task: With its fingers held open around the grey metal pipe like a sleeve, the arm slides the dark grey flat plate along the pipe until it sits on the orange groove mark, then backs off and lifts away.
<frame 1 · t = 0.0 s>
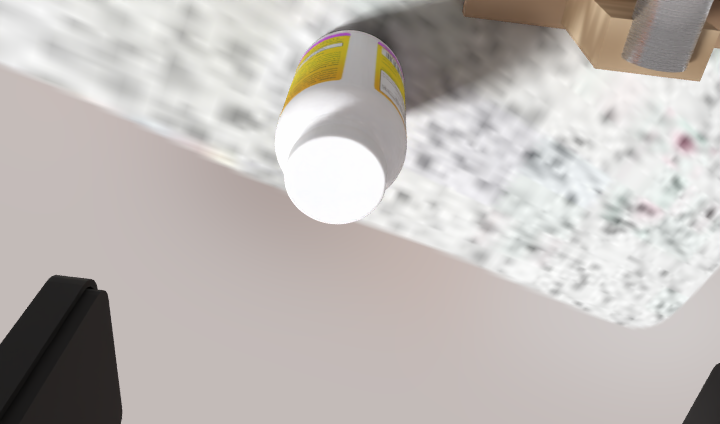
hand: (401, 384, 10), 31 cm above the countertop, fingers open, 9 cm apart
supplement bottle: (351, 79, 41), on the countertop
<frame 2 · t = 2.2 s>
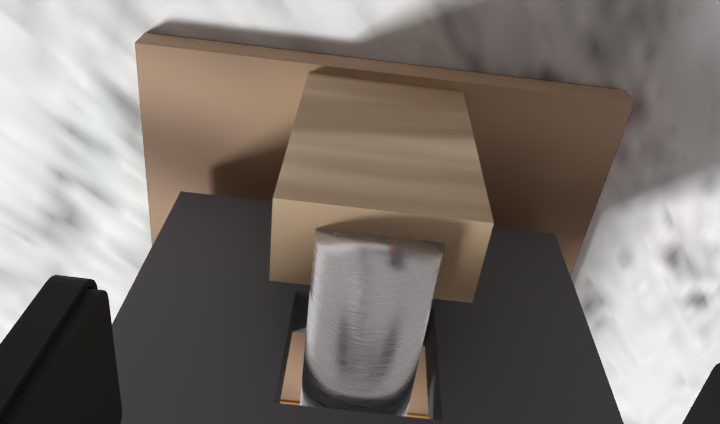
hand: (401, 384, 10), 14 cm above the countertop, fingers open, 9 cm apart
stand: (353, 309, 28), on the countertop
dark grey flat plate: (358, 370, 17), point 8 cm above the countertop, slide at 0.0 cm
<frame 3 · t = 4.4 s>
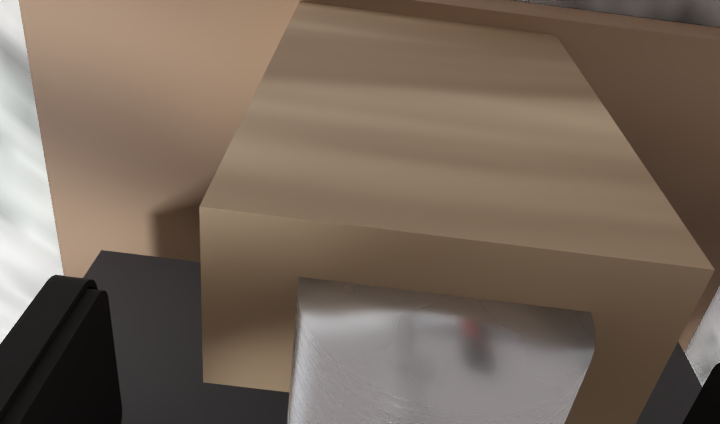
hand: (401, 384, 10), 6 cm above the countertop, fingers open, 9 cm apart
stand: (364, 370, 19), on the countertop
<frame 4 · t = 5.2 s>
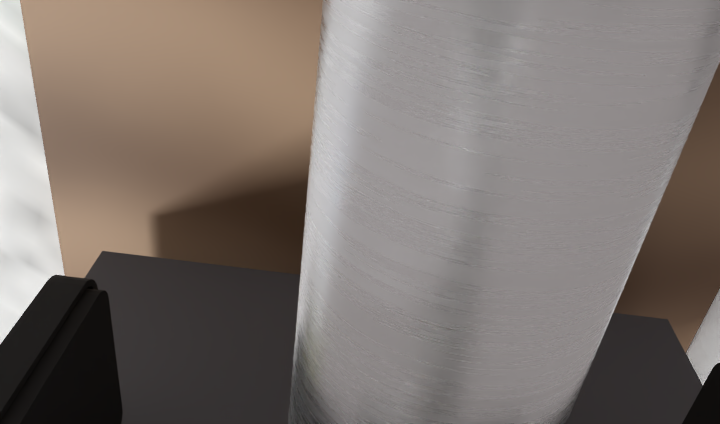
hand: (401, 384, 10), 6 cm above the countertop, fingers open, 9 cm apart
stand: (393, 206, 16), on the countertop
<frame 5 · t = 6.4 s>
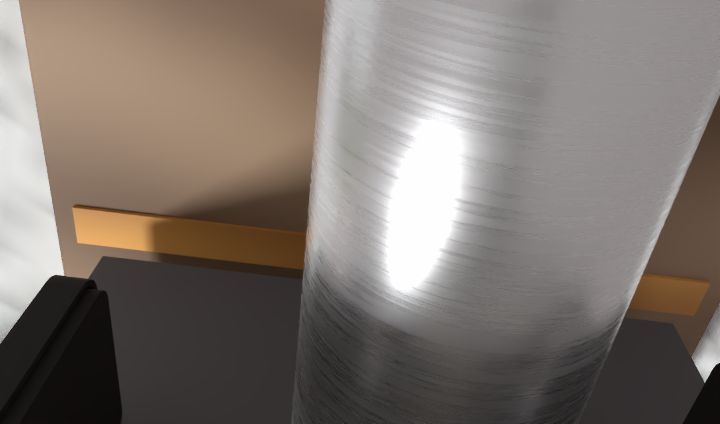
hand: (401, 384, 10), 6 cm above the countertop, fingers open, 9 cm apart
stand: (427, 19, 13), on the countertop
pipe: (460, 264, 6), point 8 cm above the countertop
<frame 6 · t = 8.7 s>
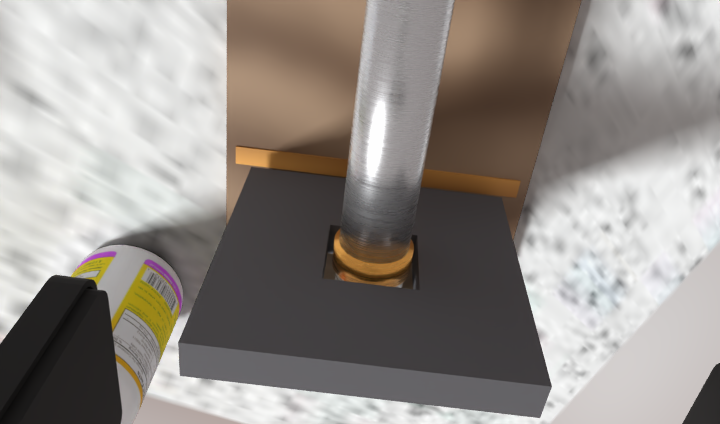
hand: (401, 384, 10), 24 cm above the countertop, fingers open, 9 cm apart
stand: (391, 65, 32), on the countertop
supplement bottle: (135, 282, 41), on the countertop
pipe: (389, 138, 25), point 8 cm above the countertop
dark grey flat plate: (370, 270, 28), point 9 cm above the countertop, slide at 11.9 cm
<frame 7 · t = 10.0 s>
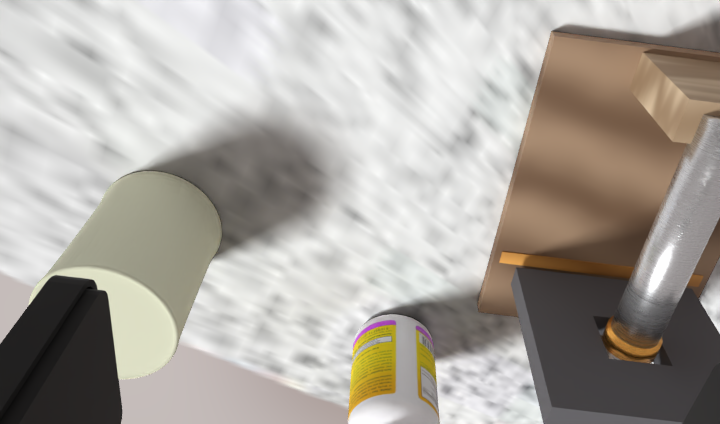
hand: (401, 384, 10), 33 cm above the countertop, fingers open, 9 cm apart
can: (162, 222, 49), on the countertop
stand: (621, 198, 46), on the countertop
supplement bottle: (393, 339, 55), on the countertop
pipe: (662, 271, 39), point 8 cm above the countertop
dark grey flat plate: (627, 348, 42), point 9 cm above the countertop, slide at 11.9 cm
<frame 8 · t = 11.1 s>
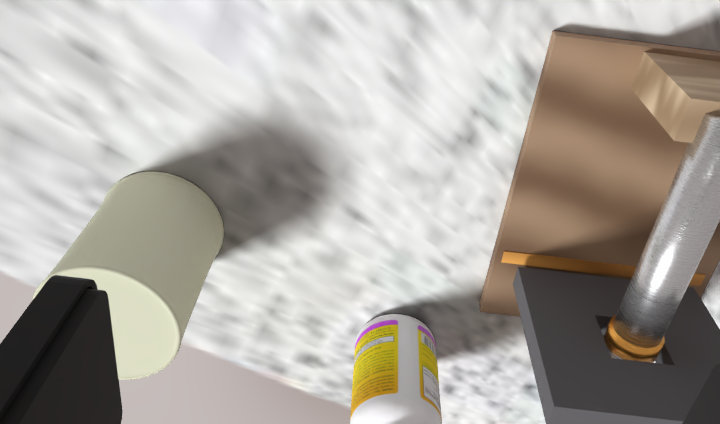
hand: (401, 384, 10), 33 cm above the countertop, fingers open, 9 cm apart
can: (164, 222, 50), on the countertop
stand: (622, 197, 46), on the countertop
supplement bottle: (395, 339, 55), on the countertop
pipe: (664, 270, 39), point 8 cm above the countertop
dark grey flat plate: (629, 348, 42), point 8 cm above the countertop, slide at 11.9 cm
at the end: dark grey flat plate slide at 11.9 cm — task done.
